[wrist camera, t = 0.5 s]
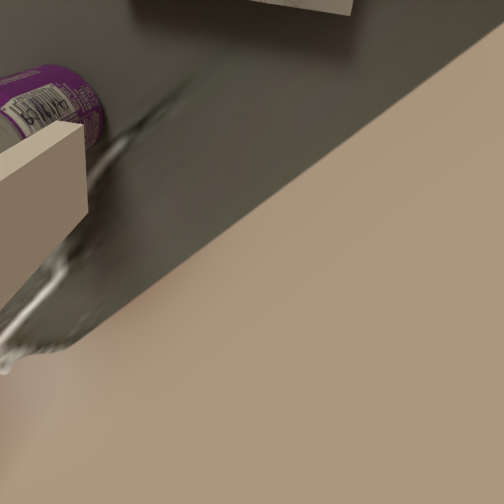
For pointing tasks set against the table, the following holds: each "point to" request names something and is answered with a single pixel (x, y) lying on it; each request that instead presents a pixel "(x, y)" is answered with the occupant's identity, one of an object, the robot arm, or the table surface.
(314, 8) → the socket block
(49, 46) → the table surface
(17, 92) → the beverage can
